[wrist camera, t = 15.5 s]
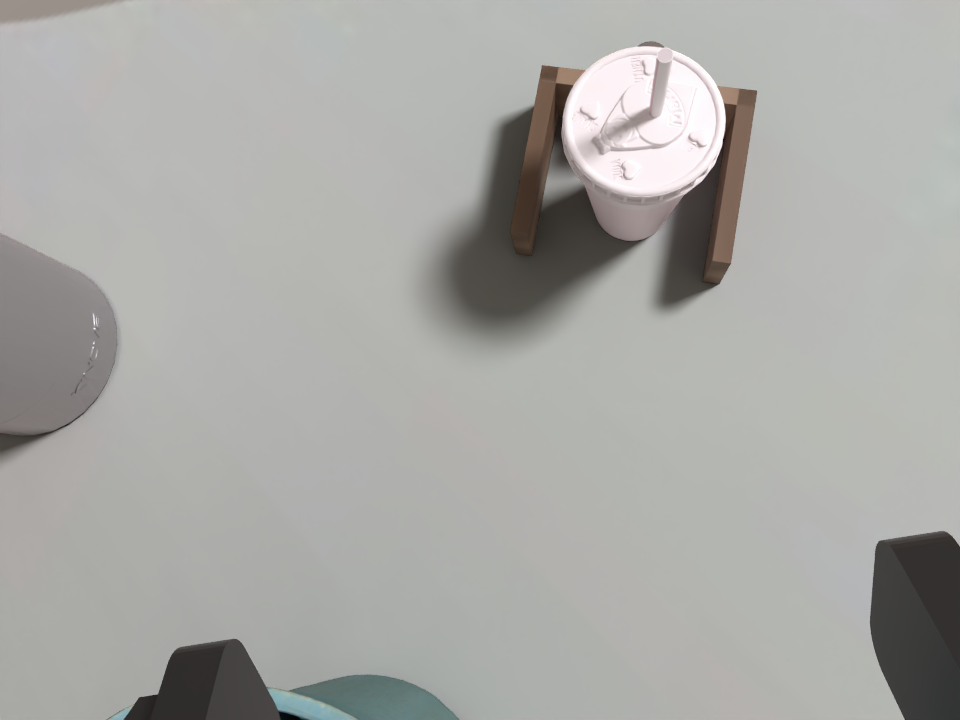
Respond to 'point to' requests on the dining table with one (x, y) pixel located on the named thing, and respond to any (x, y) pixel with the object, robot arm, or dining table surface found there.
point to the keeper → (539, 148)
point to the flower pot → (354, 701)
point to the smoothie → (642, 135)
